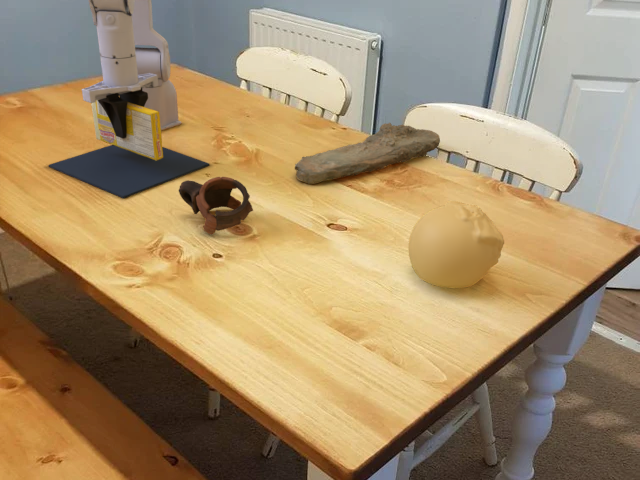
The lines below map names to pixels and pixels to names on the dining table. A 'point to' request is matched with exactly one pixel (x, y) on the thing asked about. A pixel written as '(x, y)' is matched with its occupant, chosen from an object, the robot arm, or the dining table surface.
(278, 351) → the dining table surface
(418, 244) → the sculpture
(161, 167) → the cloth
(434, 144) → the long grey stone
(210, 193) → the brown curved ring piece
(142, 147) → the candy box
